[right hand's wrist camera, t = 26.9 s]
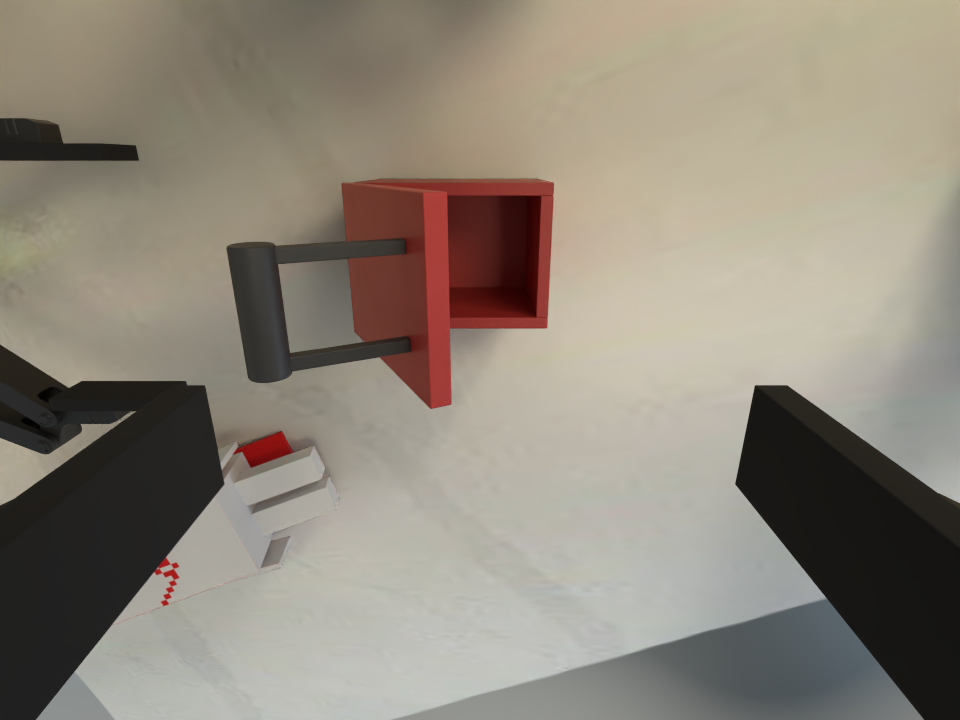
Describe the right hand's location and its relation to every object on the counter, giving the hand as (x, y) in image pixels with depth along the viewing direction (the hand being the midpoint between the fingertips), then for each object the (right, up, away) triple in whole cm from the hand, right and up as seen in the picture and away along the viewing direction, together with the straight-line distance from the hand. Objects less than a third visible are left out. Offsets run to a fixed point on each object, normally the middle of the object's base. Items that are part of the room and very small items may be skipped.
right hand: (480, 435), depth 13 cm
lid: (-5, +7, +18) cm, 19 cm away
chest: (-2, +13, +34) cm, 37 cm away
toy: (-29, -12, +44) cm, 54 cm away
